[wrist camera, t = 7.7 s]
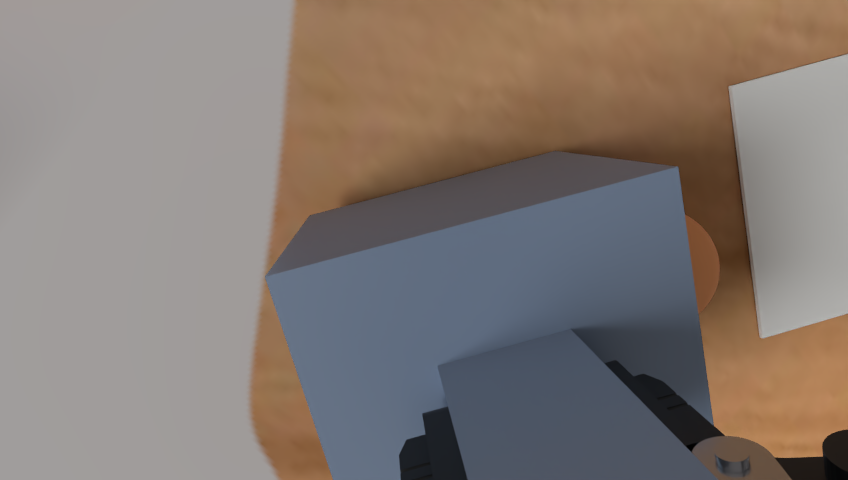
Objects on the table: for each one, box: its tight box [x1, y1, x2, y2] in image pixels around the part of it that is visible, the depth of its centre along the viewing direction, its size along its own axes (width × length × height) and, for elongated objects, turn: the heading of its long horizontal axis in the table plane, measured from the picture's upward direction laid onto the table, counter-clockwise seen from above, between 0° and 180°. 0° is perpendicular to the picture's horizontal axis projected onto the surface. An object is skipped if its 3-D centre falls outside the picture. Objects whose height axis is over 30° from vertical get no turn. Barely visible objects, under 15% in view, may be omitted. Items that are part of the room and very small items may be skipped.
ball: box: [685, 215, 720, 314], centre depth 21 cm, size 5×5×5 cm
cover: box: [265, 151, 718, 480], centre depth 15 cm, size 10×10×15 cm
